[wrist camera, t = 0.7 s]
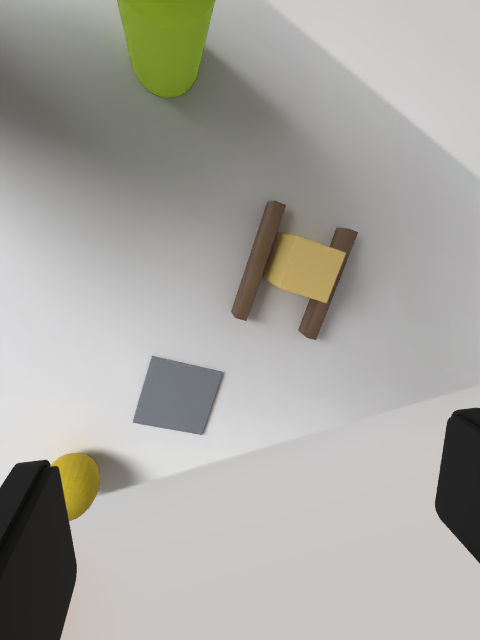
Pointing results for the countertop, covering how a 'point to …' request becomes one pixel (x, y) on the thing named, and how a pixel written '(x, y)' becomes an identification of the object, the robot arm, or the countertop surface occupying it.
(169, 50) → the soap dispenser
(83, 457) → the lemon
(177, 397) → the slate coaster
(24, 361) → the countertop surface
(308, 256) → the ochre block
